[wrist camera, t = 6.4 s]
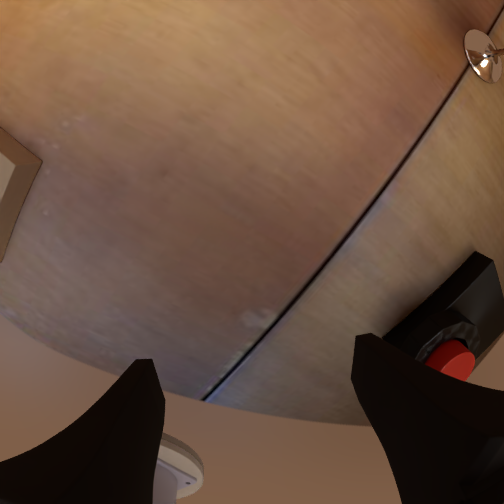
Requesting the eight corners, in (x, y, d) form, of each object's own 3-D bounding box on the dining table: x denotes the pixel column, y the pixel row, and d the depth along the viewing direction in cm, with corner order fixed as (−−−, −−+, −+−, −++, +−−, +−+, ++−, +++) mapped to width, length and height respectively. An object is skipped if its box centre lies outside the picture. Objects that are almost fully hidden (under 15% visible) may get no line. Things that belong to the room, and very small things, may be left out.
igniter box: (409, 392, 24) (429, 421, 20) (368, 338, 21) (392, 371, 17) (495, 313, 22) (522, 333, 18) (472, 243, 20) (507, 260, 16)
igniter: (430, 388, 19) (441, 402, 17) (415, 364, 18) (427, 380, 16) (466, 356, 19) (479, 369, 17) (455, 329, 17) (469, 342, 16)
